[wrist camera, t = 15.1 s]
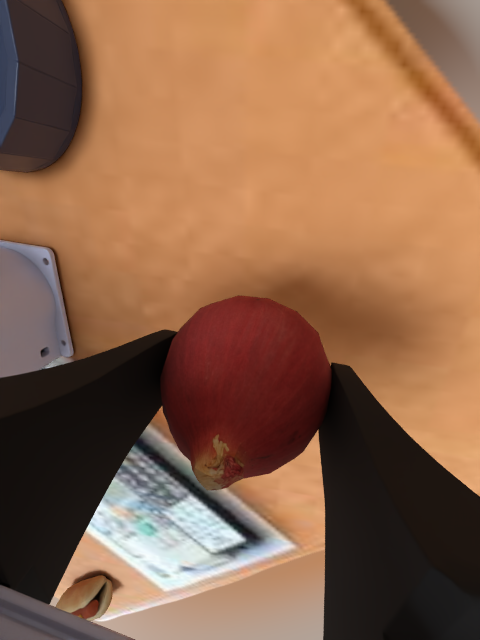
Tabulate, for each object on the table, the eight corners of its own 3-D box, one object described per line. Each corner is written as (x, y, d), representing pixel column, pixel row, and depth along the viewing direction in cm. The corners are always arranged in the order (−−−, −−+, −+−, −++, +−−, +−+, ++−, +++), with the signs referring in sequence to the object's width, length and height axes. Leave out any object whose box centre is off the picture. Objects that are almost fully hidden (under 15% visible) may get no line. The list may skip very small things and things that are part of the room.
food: (90, 600, 49) (68, 640, 44) (65, 582, 48) (40, 621, 44) (126, 584, 43) (104, 630, 38) (98, 564, 42) (72, 608, 37)
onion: (290, 399, 14) (270, 597, 7) (191, 353, 15) (79, 500, 8) (350, 306, 12) (409, 475, 5) (227, 251, 12) (107, 333, 5)
